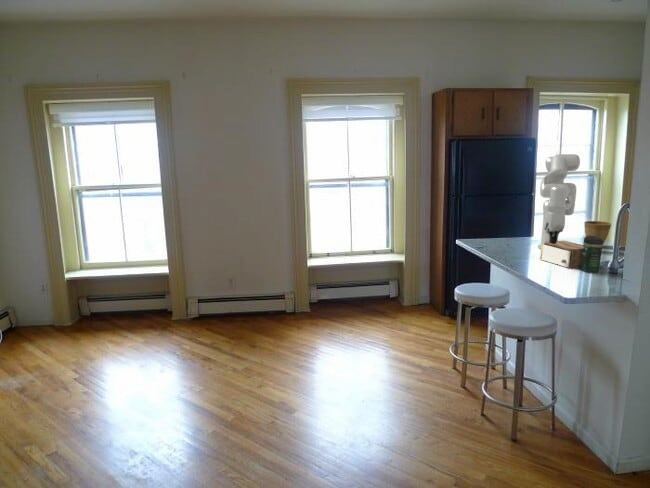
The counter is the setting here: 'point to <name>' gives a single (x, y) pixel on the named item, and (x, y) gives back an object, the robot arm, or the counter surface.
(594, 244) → the coffee jar
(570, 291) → the counter surface
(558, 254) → the door
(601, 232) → the plant pot
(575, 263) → the cabinet
